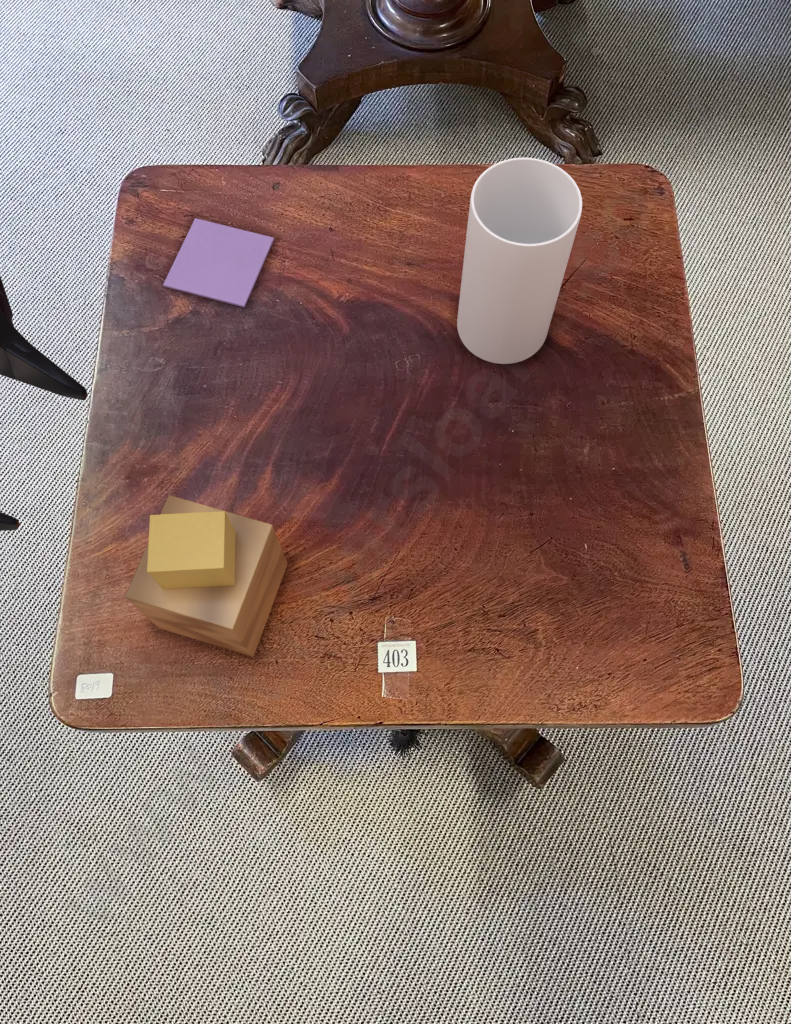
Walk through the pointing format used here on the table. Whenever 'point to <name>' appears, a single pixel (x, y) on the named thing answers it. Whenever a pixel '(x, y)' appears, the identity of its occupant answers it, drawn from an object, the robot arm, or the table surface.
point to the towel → (219, 262)
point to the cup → (515, 257)
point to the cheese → (191, 550)
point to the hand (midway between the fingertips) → (53, 457)
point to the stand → (218, 588)
